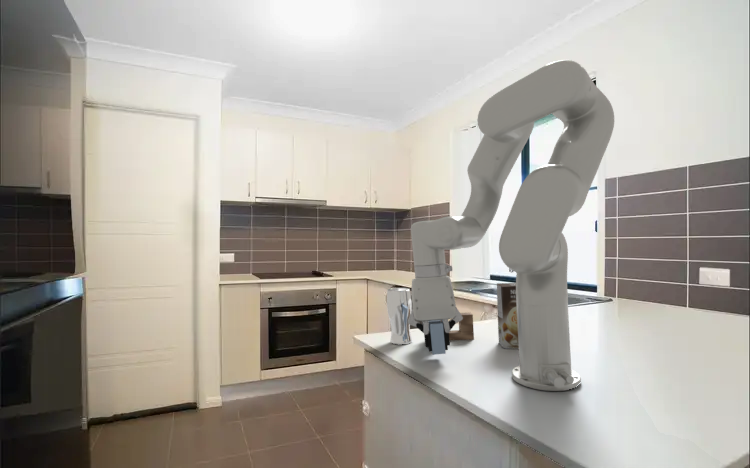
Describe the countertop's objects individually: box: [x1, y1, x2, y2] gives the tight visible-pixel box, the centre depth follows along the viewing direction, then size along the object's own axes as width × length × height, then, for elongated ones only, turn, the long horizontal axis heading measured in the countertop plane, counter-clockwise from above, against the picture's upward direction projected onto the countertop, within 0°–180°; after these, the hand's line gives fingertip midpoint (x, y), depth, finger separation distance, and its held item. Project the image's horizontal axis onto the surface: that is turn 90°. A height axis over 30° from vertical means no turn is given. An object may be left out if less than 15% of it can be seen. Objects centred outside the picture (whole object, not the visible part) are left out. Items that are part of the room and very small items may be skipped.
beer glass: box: [386, 287, 413, 346], centre depth 110 cm, size 7×7×15 cm
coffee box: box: [496, 282, 519, 350], centre depth 102 cm, size 9×6×16 cm
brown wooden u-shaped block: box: [441, 311, 475, 341], centre depth 111 cm, size 12×3×7 cm, turn 89°
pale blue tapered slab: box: [429, 320, 447, 355], centre depth 99 cm, size 16×3×7 cm, turn 179°
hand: (437, 348), depth 93 cm, fingers closed on pale blue tapered slab, 3 cm apart
